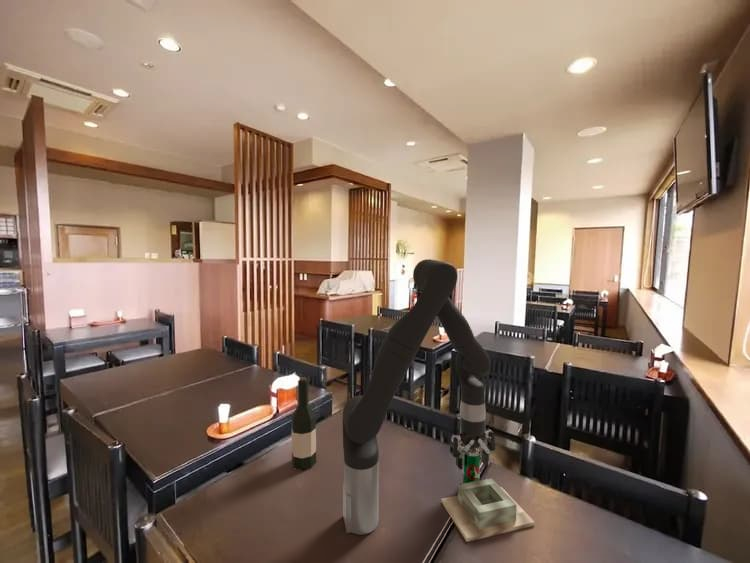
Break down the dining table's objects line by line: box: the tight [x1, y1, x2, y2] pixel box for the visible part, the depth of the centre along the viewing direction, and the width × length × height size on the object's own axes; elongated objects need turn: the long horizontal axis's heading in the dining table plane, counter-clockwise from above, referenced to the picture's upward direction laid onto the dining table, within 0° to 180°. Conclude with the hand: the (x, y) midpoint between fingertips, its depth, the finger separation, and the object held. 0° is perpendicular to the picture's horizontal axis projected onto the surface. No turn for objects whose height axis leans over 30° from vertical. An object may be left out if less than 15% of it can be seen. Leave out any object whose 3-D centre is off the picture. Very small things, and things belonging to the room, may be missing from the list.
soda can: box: [462, 448, 481, 484], centre depth 101 cm, size 5×5×12 cm
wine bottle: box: [291, 376, 317, 471], centre depth 112 cm, size 8×8×30 cm
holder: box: [440, 477, 535, 543], centre depth 90 cm, size 20×14×6 cm
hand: (472, 465), depth 101 cm, fingers open, 8 cm apart
